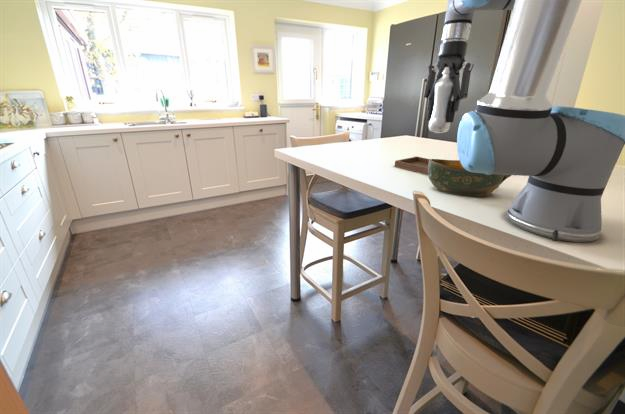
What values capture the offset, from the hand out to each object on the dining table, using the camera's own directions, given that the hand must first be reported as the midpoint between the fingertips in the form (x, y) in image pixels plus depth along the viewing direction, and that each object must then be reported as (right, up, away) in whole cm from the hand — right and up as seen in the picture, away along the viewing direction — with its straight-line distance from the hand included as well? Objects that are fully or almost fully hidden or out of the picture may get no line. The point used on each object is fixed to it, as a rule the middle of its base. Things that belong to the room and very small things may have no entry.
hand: (440, 121), depth 95 cm
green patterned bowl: (0, -25, -15) cm, 29 cm away
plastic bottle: (0, -4, +2) cm, 4 cm away
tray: (0, -16, +6) cm, 17 cm away
